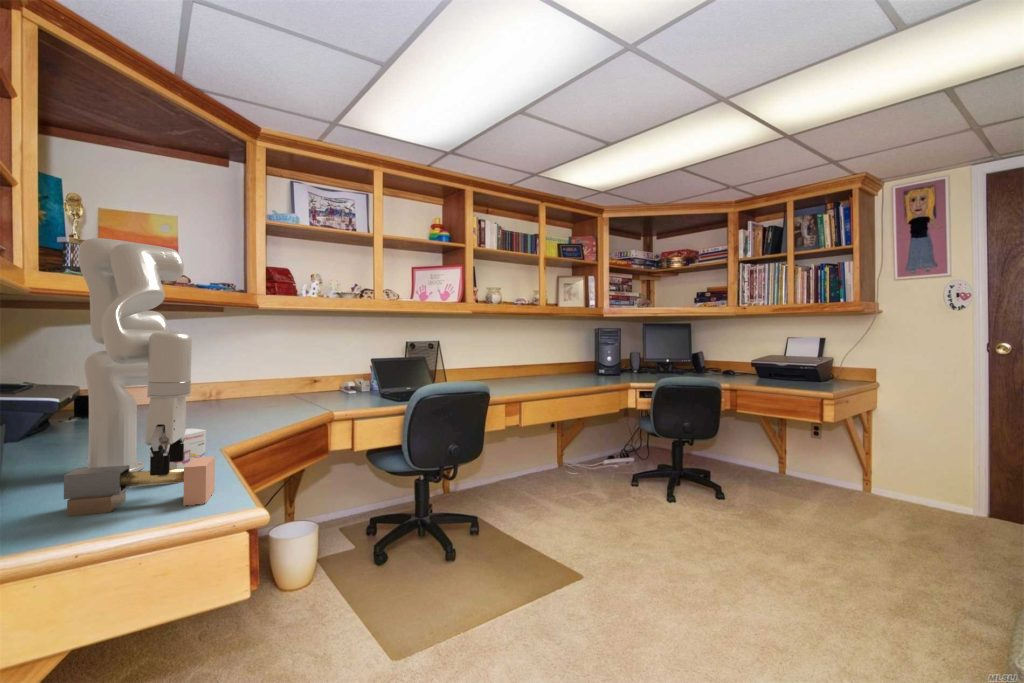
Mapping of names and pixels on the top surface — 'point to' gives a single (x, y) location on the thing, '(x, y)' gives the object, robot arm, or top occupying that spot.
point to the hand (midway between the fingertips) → (167, 467)
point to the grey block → (94, 490)
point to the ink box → (191, 447)
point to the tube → (151, 478)
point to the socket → (199, 480)
